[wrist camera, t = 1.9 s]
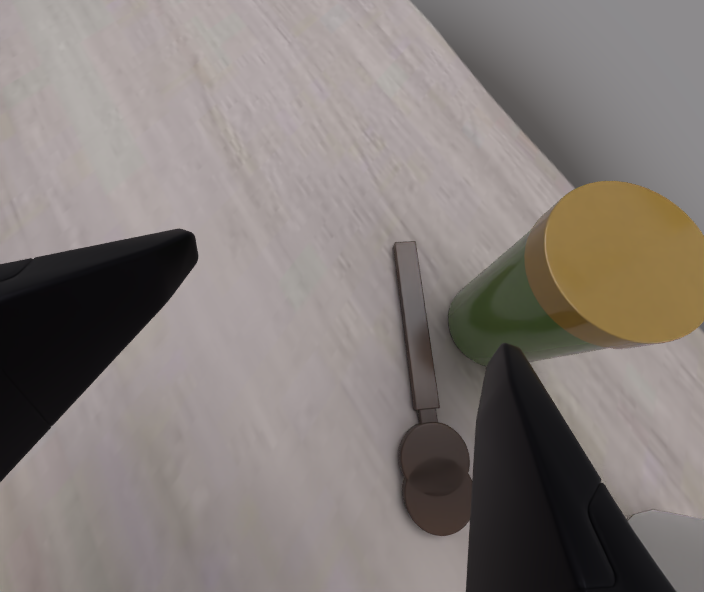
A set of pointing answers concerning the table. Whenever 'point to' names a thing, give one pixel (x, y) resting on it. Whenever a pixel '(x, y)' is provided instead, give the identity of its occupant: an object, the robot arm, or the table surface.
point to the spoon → (428, 421)
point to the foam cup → (674, 546)
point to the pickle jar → (588, 279)
